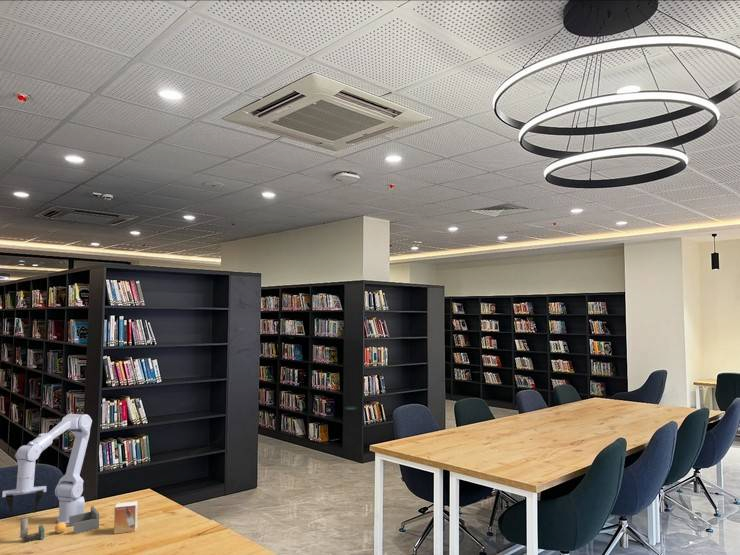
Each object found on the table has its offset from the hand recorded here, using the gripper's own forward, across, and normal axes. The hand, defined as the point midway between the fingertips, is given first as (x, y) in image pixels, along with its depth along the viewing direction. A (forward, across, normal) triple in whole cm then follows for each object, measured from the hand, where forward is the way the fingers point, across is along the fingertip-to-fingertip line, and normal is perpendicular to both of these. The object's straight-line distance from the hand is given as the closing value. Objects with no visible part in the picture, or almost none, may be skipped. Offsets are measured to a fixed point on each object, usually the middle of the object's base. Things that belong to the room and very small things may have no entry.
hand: (22, 513), depth 213 cm
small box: (+9, +35, -13) cm, 39 cm away
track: (+10, +4, 0) cm, 11 cm away
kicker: (+10, +4, 0) cm, 11 cm away
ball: (+8, +13, +1) cm, 15 cm away
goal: (+9, +22, +1) cm, 24 cm away
